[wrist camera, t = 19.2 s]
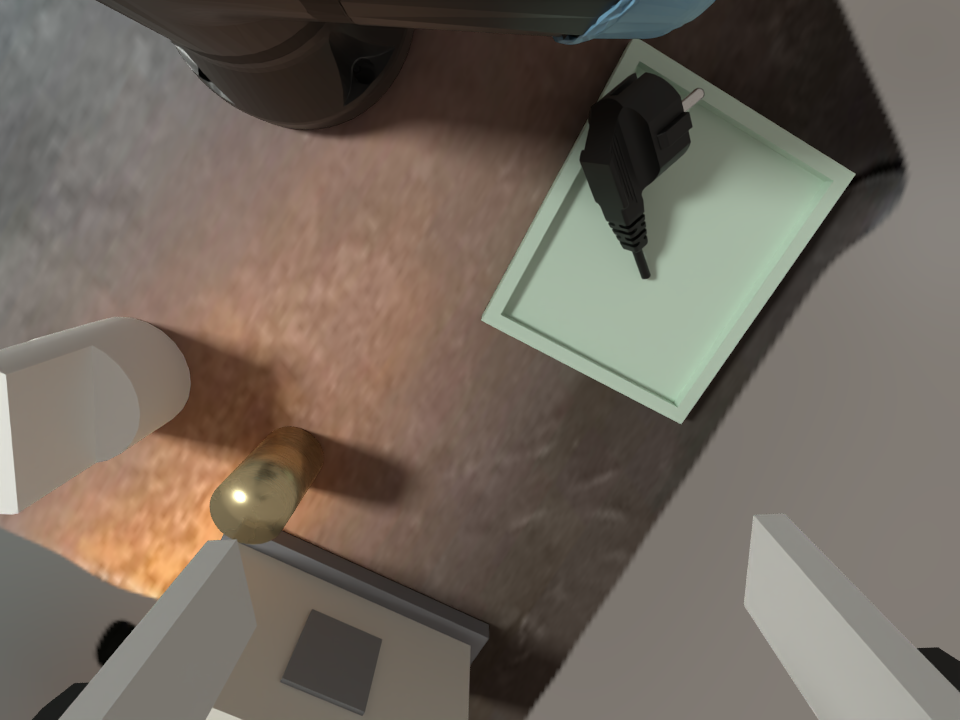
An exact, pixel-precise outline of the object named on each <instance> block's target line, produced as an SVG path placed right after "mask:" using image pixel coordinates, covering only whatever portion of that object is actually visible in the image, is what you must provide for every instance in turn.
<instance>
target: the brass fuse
mask: <svg viewBox="0 0 960 720" xmlns="http://www.w3.org/2000/svg"><path fill="white" fill-rule="evenodd" d="M323 461H324V455H323V450H322V447H321V445H320V443H319V442H318V440H317V439H316V438H315V437H314V436H313V435H312V434H310V433H309V432H307V431H305V430H303V429H300V428H297V427H282V428H279V429H276V430H274V431H273V432H271V433H270V434H269V435H268V436H267V437H266V438H265V439H264V440H263V441H262V442H261V443H260V444H259V445H258V446H257V447H256V448H255V449H254V450H253V451H252V452H251V454H250V455H249V456H248V457H247V458H246V459H245V460H244V461H243V462H242V463H241V464H240V465H239V466H238V467H237V468H236V469H235V470H234V471H233V472H232V473H231V474H230V475H229V476H228V477H227V478H226V479H225V480H224V481H223V482H222V484H221V485H220V486H219V487H218V488H217V489H216V490H215V491H214V493H213V495H212V497H211V500H210V513H211V517H212V519H213V521H214V523H215V525H216V526H217V527H218V529H219V530H220V531H221V532H222V533H223V534H225V535H226V536H227V537H229V538H231V539H233V540H235V539H237V542H240V543H244V544H252V545H253V544H262V543H266V542H268V541H271V540H272V539H274V538H275V537H277V536H278V535H279V534H280V533H281V531H282V530H283V528H284V526H285V525H286V523H287V522H288V520H289V519H290V517H291V515H292V514H293V512H294V511H295V509H296V508H297V506H298V504H299V503H300V501H301V500H302V498H303V497H304V495H305V493H306V492H307V490H308V489H309V487H310V486H311V484H312V482H313V481H314V479H315V478H316V476H317V475H318V473H319V471H320V470H321V468H322V465H323Z"/></svg>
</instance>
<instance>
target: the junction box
mask: <svg viewBox="0 0 960 720" xmlns="http://www.w3.org/2000/svg"><path fill="white" fill-rule="evenodd" d="M221 540H233V539H231V538H229V537H227V536H226V535H225V534H224V535H223V537H222V539H221ZM238 546H239V551H240V555H241V559H242V563H243V568H244V572H245V576H246V580H247V585H248V589H249V593H250V597H251V602H252V606H253V610H254V614H255V619H256V623H257V627H256V629H255V630H254V632H253V634H252V636H251V638H250V640H249V641H248V643H247V645H246V647H245V649H244V651H243V652H242V654H241V656H240V658H239V660H238V661H237V663H236V665H235V667H234V669H233V671H232V672H231V674H230V676H229V678H228V680H227V682H226V683H225V685H224V687H223V689H222V691H221V693H220V694H219V696H218V698H217V700H216V702H215V704H214V705H213V707H212V709H211V711H210V713H209V715H208V716H207V718H206V720H468V710H469V680H470V665H471V663H472V662H473V661H474V659H475V658H476V656H477V655H478V653H479V652H480V651H481V649H482V648H483V646H484V645H485V643H486V642H487V640H488V639H489V625H488V624H486V623H484V622H482V621H479V620H477V619H475V618H473V617H471V616H468V615H466V614H464V613H462V612H460V611H457V610H455V609H453V608H451V607H449V606H446V605H444V604H442V603H440V602H438V601H435V600H433V599H431V598H429V597H427V596H424V595H422V594H420V593H418V592H416V591H413V590H411V589H409V588H407V587H404V586H402V585H400V584H398V583H396V582H393V581H391V580H389V579H387V578H385V577H382V576H380V575H378V574H376V573H374V572H371V571H369V570H367V569H365V568H363V567H360V566H358V565H356V564H354V563H352V562H349V561H347V560H345V559H343V558H341V557H338V556H336V555H334V554H332V553H330V552H327V551H325V550H323V549H321V548H319V547H316V546H314V545H312V544H310V543H307V542H305V541H303V540H301V539H299V538H296V537H294V536H292V535H290V534H288V533H285V532H283V531H281V533H280V534H279V535H278V536H277V537H275V538H274V539H272V540H271V541H268V542H266V543H262V544H253V545H252V544H244V543H240V542H238Z"/></svg>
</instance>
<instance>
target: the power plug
mask: <svg viewBox="0 0 960 720" xmlns="http://www.w3.org/2000/svg"><path fill="white" fill-rule="evenodd" d="M704 94H705V92H704V90H703V89H702V88H696V89H694V90H693V91H692V92H691V93H689V94H688V95H687V96H686V97H685V98H683V99H682V100H681V96H680V94H679V93H678V92H677V91H676V90H675V88H674V87H673V86H672V85H671V84H669V83H668V82H667V81H666V80H664V79H663V78H661V77H659V76H657V75H655V74H652V73H647V72H645V73H644V74H642V75H641V76H640V77H639V78H638V79H637V75H636V73H634V74H631V75H629V76H628V77H627V78H625V79H624V80H623V81H622V82H621V83H619V84H618V85H617V86H616V87H615V88H613V89H612V90H611V91H610V92H609V93H607V94H606V95H605V96H604V97H603V98H601V99H600V100H599V101H598V102H596V103H595V104H594V105H593V106H592V107H591V109H590V112H589V117H588V123H589V130H588V135H587V139H586V144H585V148H584V150H582V151H581V153H580V158H579V161H580V164H581V166H582V168H583V171H584V173H585V176H586V179H587V181H588V184H589V187H590V189H591V192H592V195H593V197H594V200H595V202H596V203H598V204H599V206H600V207H601V210H602V212H603V215H604V217H605V219H606V221H608V222H609V223H608V224H609V226H610V228H613V229H612V231H613V233H614V234H615V235H616V238H617V239H618V240H619V241H620V244H621V246H622V248H623V249H625V250H629V251H632V253H633V256H634V259H635V261H636V264H637V267H638V270H639V273H640V275H641V278H642V279H648V278H649V277H650V276H651V274H650V271H649V268H648V265H647V262H646V259H645V256H644V253H643V250H642V248H644V247H645V246H646V245H647V243H648V238H647V236H646V234H647V229H646V228H645V227H646V222H645V221H644V220H645V214H643V213H644V212H645V210H644V201H643V197H642V191H643V190H644V188H645V187H647V186H648V185H649V184H651V183H652V182H653V181H654V180H655V179H656V178H657V177H659V176H660V175H661V174H662V173H663V172H664V171H665V170H667V169H668V168H669V167H670V166H671V165H672V164H673V163H675V162H676V161H677V160H678V159H679V158H680V157H681V156H683V155H684V154H685V153H686V151H687V150H688V148H689V146H690V143H691V140H690V135H689V130H690V129H691V128H692V127H693V126H692V121H691V117H690V113H689V112H688V111H690V110H691V109H692V108H693V107H694V106H695V105H697V104H698V103H699V102H700V101H701V100H702V99H703V98H704Z"/></svg>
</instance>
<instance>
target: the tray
mask: <svg viewBox="0 0 960 720" xmlns="http://www.w3.org/2000/svg"><path fill="white" fill-rule="evenodd" d="M645 72H647V73H652V74H655V75H657V76H659V77H661V78H663V79H664V80H666V81H667V82H668V83H669V84H671V85H672V86H673V87H674V88H675V90H676V91H677V92H678V93H679V94H680V96H681V100H682V99H683V98H685V97H686V96H687V95H688V94H689V93H691V92H692V91H693V90H694V89H696V88H702V89H703V90H704V92H705V94H704V98H703V99H702V100H701V101H700V102H699V103H698V104H697V105H695V106H694V107H693V108H692V109H691V110H690V111H688V112H689V113H690V117H691V121H692V126H693V127H692V128H691V129H690V130H689V135H690V140H691V143H690V146H689V148H688V150H687V151H686V153H685V154H684V155H683V156H681V157H680V158H679V159H678V160H677V161H676V162H675V163H673V164H672V165H671V166H670V167H669V168H668V169H667V170H665V171H664V172H663V173H662V174H661V175H660V176H659V177H657V178H656V179H655V180H654V181H653V182H652V183H651V184H649V185H648V186H647V187H645V188H644V190H643V191H642V197H643V201H644V210H645V212H644V213H643V214H645V220H644V221H645V222H646V227H645V228H646V229H647V234H646V236H647V238H648V243H647V245H646V246H645V247H644V248H642V250H643V253H644V256H645V259H646V262H647V265H648V268H649V271H650V274H651V276H650V277H649V278H648V279H642V278H641V275H640V273H639V270H638V267H637V264H636V261H635V259H634V256H633V253H632V251H629V250H625V249H623V248H622V246H621V244H620V241H619V240H618V239H617V238H616V235H615V234H614V233H613V231H612V229H613V228H610V226H609V224H608V223H609V222H608V221H606V219H605V217H604V215H603V212H602V210H601V207H600V206H599V204H598V203H596V202H595V200H594V197H593V195H592V192H591V189H590V187H589V184H588V181H587V179H586V176H585V173H584V171H583V168H582V166H581V164H580V161H579V158H580V153H581V151H582V150H584V148H585V144H586V139H587V135H588V130H589V123H588V119H587V121H586V123H585V125H584V127H583V129H582V130H581V132H580V134H579V136H578V138H577V140H576V142H575V143H574V145H573V147H572V149H571V151H570V153H569V155H568V156H567V158H566V160H565V162H564V164H563V166H562V168H561V169H560V171H559V173H558V175H557V177H556V179H555V181H554V183H553V184H552V186H551V188H550V190H549V192H548V194H547V196H546V197H545V199H544V201H543V203H542V205H541V207H540V209H539V210H538V212H537V214H536V216H535V218H534V220H533V222H532V223H531V225H530V227H529V229H528V231H527V233H526V235H525V237H524V238H523V240H522V242H521V244H520V246H519V248H518V250H517V251H516V253H515V255H514V257H513V259H512V261H511V263H510V264H509V266H508V268H507V270H506V272H505V274H504V276H503V277H502V279H501V281H500V283H499V285H498V287H497V289H496V290H495V292H494V294H493V296H492V298H491V300H490V302H489V304H488V305H487V307H486V309H485V311H484V313H483V315H482V320H481V321H483V322H485V323H487V324H489V325H491V326H493V327H495V328H497V329H499V330H501V331H503V332H504V333H506V334H508V335H510V336H512V337H514V338H516V339H518V340H520V341H522V342H524V343H526V344H528V345H530V346H531V347H533V348H535V349H537V350H539V351H541V352H543V353H545V354H547V355H549V356H551V357H553V358H555V359H557V360H558V361H560V362H562V363H564V364H566V365H568V366H570V367H572V368H574V369H576V370H578V371H580V372H582V373H583V374H585V375H587V376H589V377H591V378H593V379H595V380H597V381H599V382H601V383H603V384H605V385H607V386H609V387H610V388H612V389H614V390H616V391H618V392H620V393H622V394H624V395H626V396H628V397H630V398H632V399H634V400H636V401H637V402H639V403H641V404H643V405H645V406H647V407H649V408H651V409H653V410H655V411H657V412H659V413H661V414H662V415H664V416H666V417H668V418H670V419H672V420H674V421H676V422H678V423H680V424H682V422H683V421H684V420H685V418H686V417H687V415H688V414H689V412H690V411H691V410H692V408H693V407H694V405H695V404H696V402H697V401H698V399H699V398H700V397H701V395H702V394H703V392H704V391H705V389H706V388H707V387H708V385H709V384H710V382H711V381H712V379H713V378H714V377H715V375H716V374H717V372H718V371H719V369H720V368H721V367H722V365H723V364H724V362H725V361H726V359H727V358H728V356H729V355H730V354H731V352H732V351H733V349H734V348H735V346H736V345H737V344H738V342H739V341H740V339H741V338H742V336H743V335H744V334H745V332H746V331H747V329H748V328H749V326H750V325H751V324H752V322H753V321H754V319H755V318H756V316H757V315H758V314H759V312H760V311H761V309H762V308H763V306H764V305H765V303H766V302H767V301H768V299H769V298H770V296H771V295H772V293H773V292H774V291H775V289H776V288H777V286H778V285H779V283H780V282H781V281H782V279H783V278H784V276H785V275H786V273H787V272H788V271H789V269H790V268H791V266H792V265H793V263H794V262H795V261H796V259H797V258H798V256H799V255H800V253H801V252H802V250H803V249H804V248H805V246H806V245H807V243H808V242H809V240H810V239H811V238H812V236H813V235H814V233H815V232H816V230H817V229H818V228H819V226H820V225H821V223H822V222H823V220H824V219H825V218H826V216H827V215H828V213H829V212H830V210H831V209H832V207H833V206H834V205H835V203H836V202H837V200H838V199H839V197H840V196H841V195H842V193H843V192H844V190H845V189H846V187H847V186H848V185H849V183H850V182H851V180H852V179H853V177H854V176H855V175H856V174H855V173H853V172H852V171H850V170H848V169H847V168H845V167H844V166H842V165H840V164H839V163H837V162H836V161H834V160H832V159H831V158H829V157H828V156H826V155H824V154H823V153H821V152H820V151H818V150H816V149H815V148H813V147H812V146H810V145H808V144H807V143H805V142H804V141H802V140H800V139H799V138H797V137H796V136H794V135H792V134H791V133H789V132H788V131H786V130H784V129H783V128H781V127H780V126H778V125H776V124H775V123H773V122H772V121H770V120H768V119H767V118H765V117H764V116H762V115H760V114H759V113H757V112H756V111H754V110H752V109H751V108H749V107H748V106H746V105H744V104H743V103H741V102H740V101H738V100H736V99H735V98H733V97H732V96H730V95H728V94H727V93H725V92H724V91H722V90H720V89H719V88H717V87H716V86H714V85H712V84H711V83H709V82H708V81H706V80H704V79H703V78H701V77H700V76H698V75H696V74H695V73H693V72H692V71H690V70H688V69H687V68H685V67H684V66H682V65H680V64H679V63H677V62H676V61H674V60H672V59H671V58H669V57H668V56H666V55H664V54H663V53H661V52H660V51H658V50H656V49H655V48H653V47H651V46H650V45H648V44H647V43H645V42H643V41H642V40H640V39H632V40H631V41H630V42H629V43H628V45H627V47H626V48H625V50H624V52H623V54H622V56H621V58H620V60H619V62H618V63H617V65H616V67H615V69H614V71H613V73H612V75H611V76H610V78H609V80H608V82H607V84H606V86H605V88H604V89H603V91H602V93H601V95H600V97H599V99H598V101H599V100H600V99H601V98H603V97H604V96H605V95H606V94H607V93H609V92H610V91H611V90H612V89H613V88H615V87H616V86H617V85H618V84H619V83H621V82H622V81H623V80H624V79H625V78H627V77H628V76H629V75H631V74H634V73H636V75H637V79H638V78H639V77H640V76H641V75H642V74H644V73H645ZM598 101H597V102H598Z"/></svg>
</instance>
